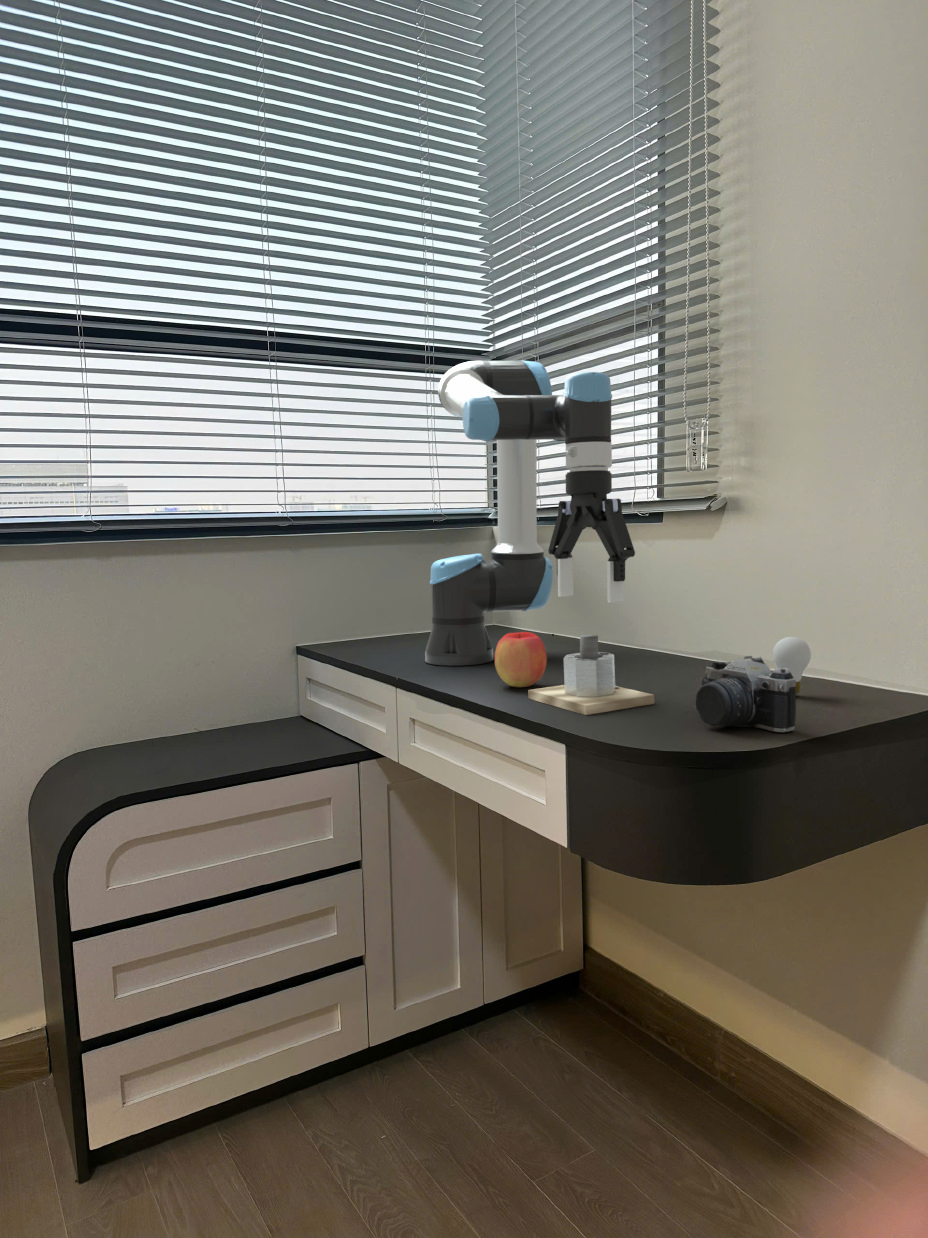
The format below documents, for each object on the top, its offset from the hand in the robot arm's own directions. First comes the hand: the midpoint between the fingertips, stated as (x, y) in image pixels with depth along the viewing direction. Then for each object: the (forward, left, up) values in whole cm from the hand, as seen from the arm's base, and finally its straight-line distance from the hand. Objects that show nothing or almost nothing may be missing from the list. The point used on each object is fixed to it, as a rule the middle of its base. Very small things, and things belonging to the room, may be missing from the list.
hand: (589, 599), depth 144 cm
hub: (+1, -1, -15) cm, 15 cm away
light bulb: (+18, +28, -17) cm, 37 cm away
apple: (-17, -3, -17) cm, 24 cm away
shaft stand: (+1, -1, -17) cm, 17 cm away
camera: (+27, +5, -17) cm, 33 cm away
